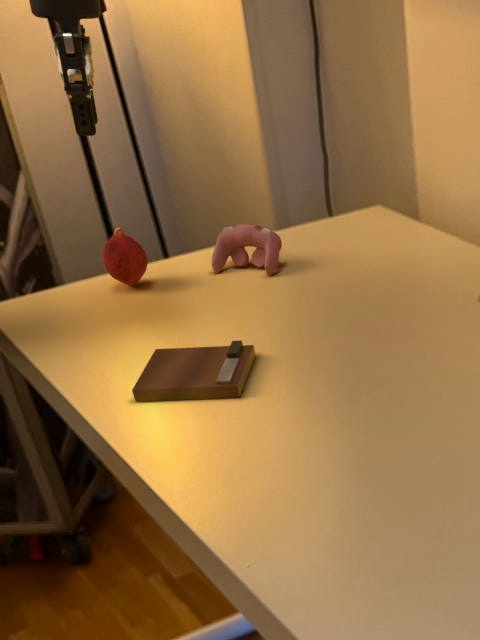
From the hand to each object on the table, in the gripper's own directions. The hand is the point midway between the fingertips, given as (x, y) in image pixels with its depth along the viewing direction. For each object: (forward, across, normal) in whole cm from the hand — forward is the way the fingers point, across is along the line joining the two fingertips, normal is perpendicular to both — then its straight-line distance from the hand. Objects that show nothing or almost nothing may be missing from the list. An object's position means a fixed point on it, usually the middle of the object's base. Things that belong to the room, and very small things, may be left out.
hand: (88, 129), depth 119 cm
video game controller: (+20, -11, +18) cm, 29 cm away
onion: (+22, -11, +2) cm, 24 cm away
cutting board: (+23, +23, +8) cm, 34 cm away
